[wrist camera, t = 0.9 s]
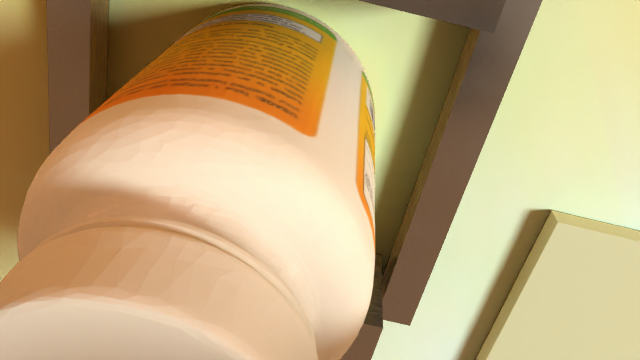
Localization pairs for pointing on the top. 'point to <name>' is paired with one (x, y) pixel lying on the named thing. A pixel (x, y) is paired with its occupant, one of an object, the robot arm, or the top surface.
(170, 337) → the supplement bottle
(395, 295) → the grey low square frame
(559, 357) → the pad
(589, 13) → the top surface
